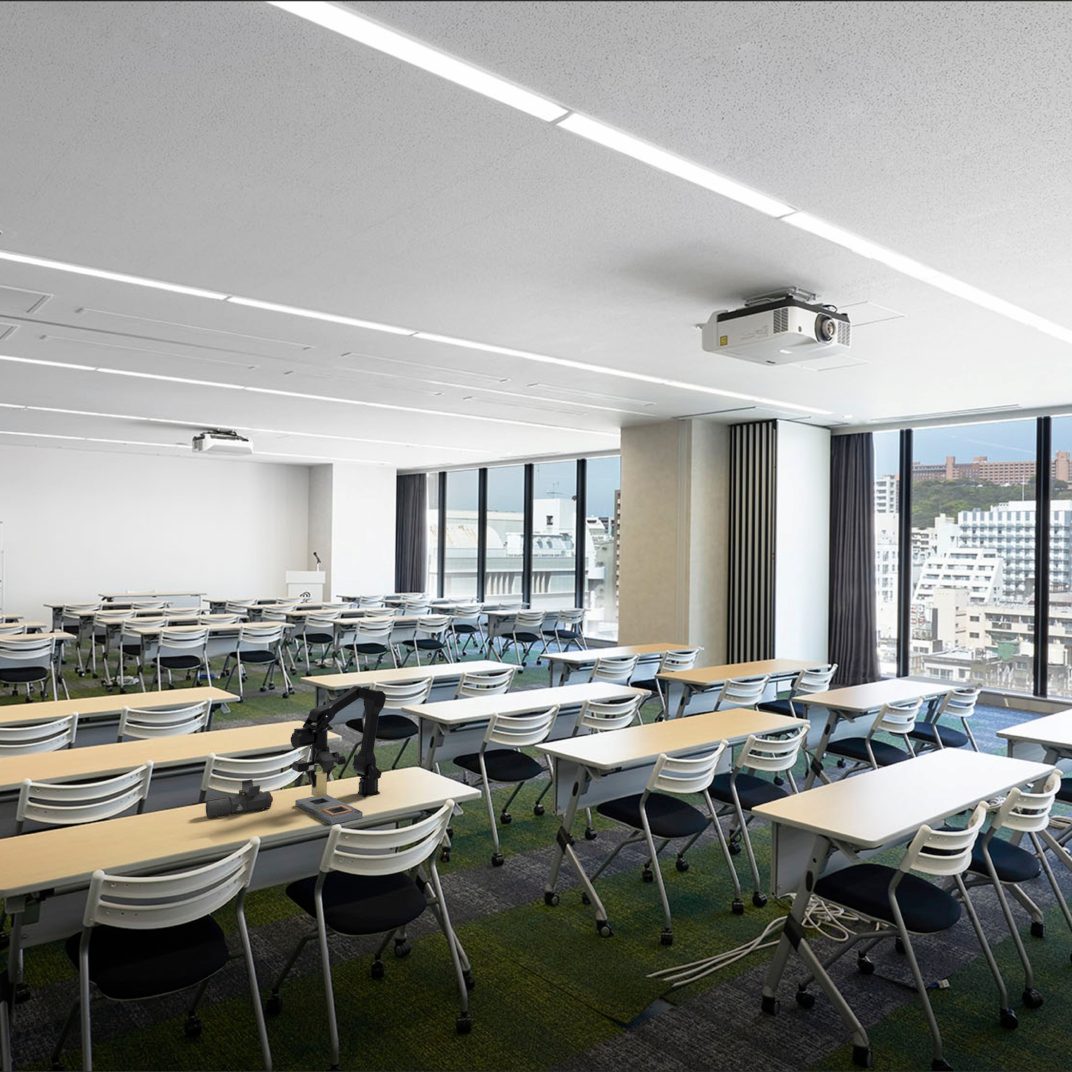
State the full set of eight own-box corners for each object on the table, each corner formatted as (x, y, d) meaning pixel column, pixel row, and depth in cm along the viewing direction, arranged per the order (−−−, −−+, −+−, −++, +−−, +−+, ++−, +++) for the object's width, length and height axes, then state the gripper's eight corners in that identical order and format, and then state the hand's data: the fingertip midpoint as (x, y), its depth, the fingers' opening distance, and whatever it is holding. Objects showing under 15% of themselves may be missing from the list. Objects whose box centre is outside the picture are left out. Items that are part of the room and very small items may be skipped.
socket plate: (325, 799, 317) (325, 793, 317) (362, 817, 295) (362, 811, 296) (295, 805, 309) (295, 799, 309) (331, 825, 288) (331, 818, 288)
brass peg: (321, 792, 310) (321, 770, 310) (326, 795, 307) (326, 773, 307) (311, 794, 308) (311, 772, 308) (316, 797, 305) (316, 775, 305)
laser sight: (204, 814, 299) (204, 786, 299) (267, 804, 312) (267, 776, 312) (210, 822, 291) (211, 793, 291) (276, 810, 304) (276, 782, 304)
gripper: (305, 751, 296) (304, 796, 295) (353, 743, 308) (352, 786, 307) (291, 745, 304) (291, 789, 304) (338, 738, 316) (338, 780, 316)
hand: (319, 786), depth 308 cm, fingers closed on brass peg, 4 cm apart
